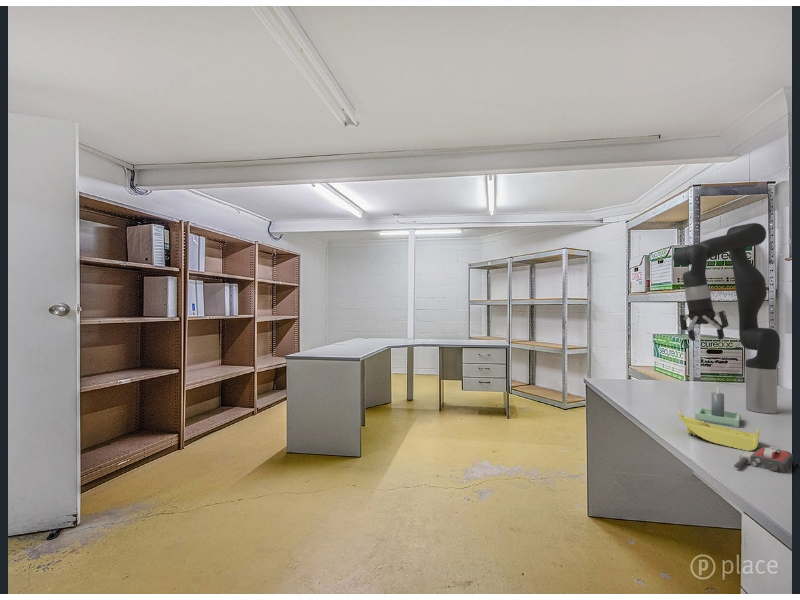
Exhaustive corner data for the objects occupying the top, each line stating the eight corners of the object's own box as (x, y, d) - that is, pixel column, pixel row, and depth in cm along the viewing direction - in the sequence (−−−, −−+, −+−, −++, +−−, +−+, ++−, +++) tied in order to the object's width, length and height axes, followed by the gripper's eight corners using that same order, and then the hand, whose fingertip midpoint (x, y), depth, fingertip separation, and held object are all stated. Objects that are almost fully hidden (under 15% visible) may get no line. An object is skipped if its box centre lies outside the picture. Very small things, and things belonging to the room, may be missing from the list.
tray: (699, 414, 151) (699, 407, 151) (740, 420, 143) (740, 413, 143) (695, 420, 142) (695, 413, 143) (738, 427, 134) (738, 420, 134)
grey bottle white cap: (712, 416, 145) (711, 386, 145) (724, 418, 143) (724, 388, 143) (711, 418, 143) (710, 388, 143) (723, 420, 140) (723, 389, 140)
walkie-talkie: (752, 453, 111) (730, 470, 99) (751, 438, 111) (730, 453, 100) (795, 463, 104) (777, 483, 92) (795, 446, 104) (777, 464, 92)
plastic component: (759, 435, 119) (759, 427, 113) (756, 459, 117) (756, 453, 111) (680, 417, 133) (676, 409, 127) (676, 438, 131) (672, 432, 124)
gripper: (724, 294, 145) (733, 337, 145) (680, 299, 157) (688, 339, 156) (718, 296, 141) (727, 340, 140) (673, 301, 152) (681, 342, 152)
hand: (706, 339), depth 148 cm, fingers open, 8 cm apart
